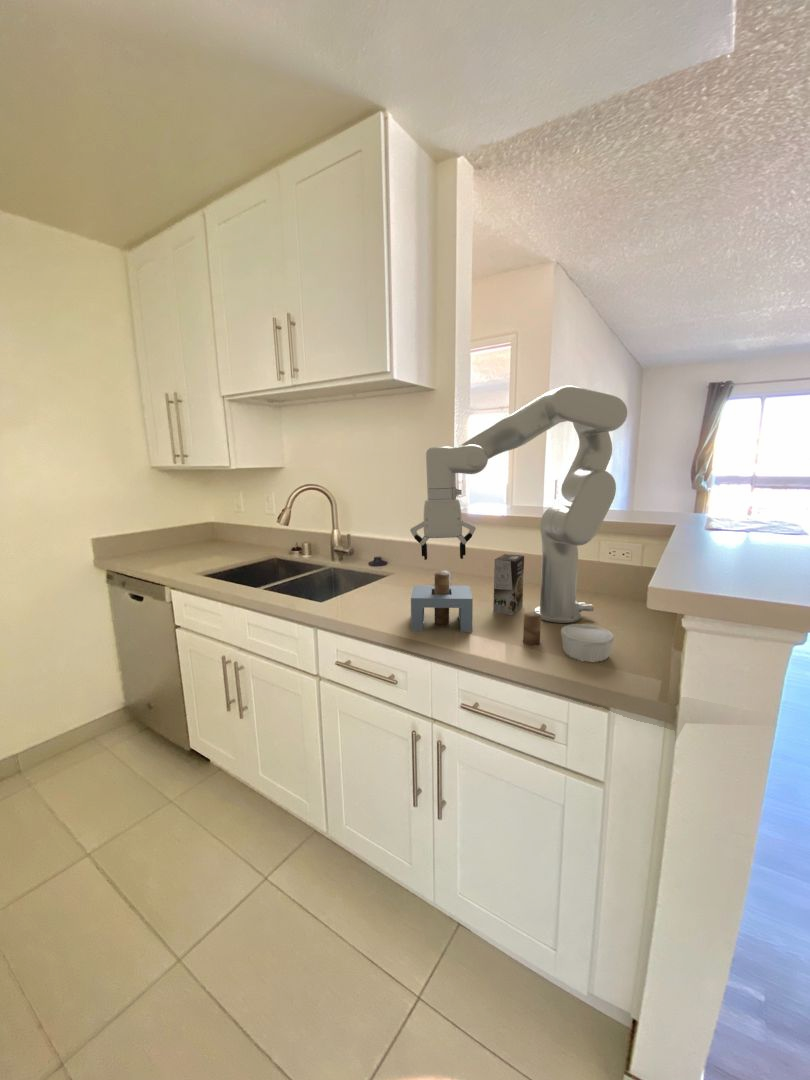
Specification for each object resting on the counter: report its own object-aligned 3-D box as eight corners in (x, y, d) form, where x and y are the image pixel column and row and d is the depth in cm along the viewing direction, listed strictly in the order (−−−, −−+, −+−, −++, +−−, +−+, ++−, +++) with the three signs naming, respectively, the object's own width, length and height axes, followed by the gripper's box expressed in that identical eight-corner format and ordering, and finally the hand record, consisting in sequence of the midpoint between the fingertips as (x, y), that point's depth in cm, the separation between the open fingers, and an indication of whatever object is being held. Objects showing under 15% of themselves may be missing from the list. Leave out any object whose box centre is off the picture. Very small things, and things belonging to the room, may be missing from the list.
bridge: (469, 615, 125) (469, 585, 124) (472, 631, 113) (472, 598, 112) (414, 615, 126) (413, 585, 125) (411, 630, 115) (410, 598, 113)
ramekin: (601, 644, 105) (602, 623, 104) (621, 665, 94) (622, 642, 93) (554, 643, 105) (555, 623, 104) (568, 665, 94) (569, 642, 93)
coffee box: (513, 615, 125) (515, 561, 122) (492, 612, 128) (493, 558, 125) (523, 606, 132) (525, 555, 129) (503, 603, 135) (504, 553, 133)
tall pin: (448, 620, 122) (449, 572, 119) (449, 625, 118) (449, 576, 115) (434, 620, 122) (434, 572, 119) (434, 625, 118) (434, 575, 115)
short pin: (538, 639, 108) (539, 612, 107) (541, 645, 104) (542, 618, 103) (521, 638, 108) (522, 612, 107) (524, 645, 104) (525, 617, 103)
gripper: (473, 492, 117) (474, 554, 120) (409, 494, 118) (412, 556, 121) (476, 494, 109) (477, 560, 112) (407, 497, 111) (410, 562, 114)
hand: (443, 558), depth 117 cm, fingers open, 9 cm apart
